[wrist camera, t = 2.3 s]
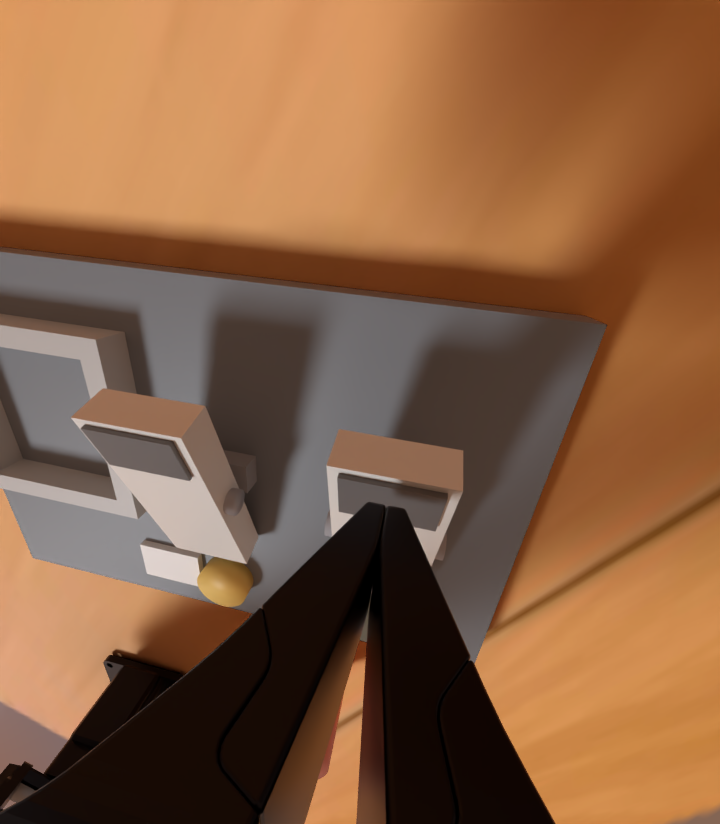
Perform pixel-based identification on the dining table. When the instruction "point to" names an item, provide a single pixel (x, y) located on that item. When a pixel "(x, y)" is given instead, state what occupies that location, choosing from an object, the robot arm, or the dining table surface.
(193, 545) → the block
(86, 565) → the panel
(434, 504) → the breaker
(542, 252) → the dining table surface
